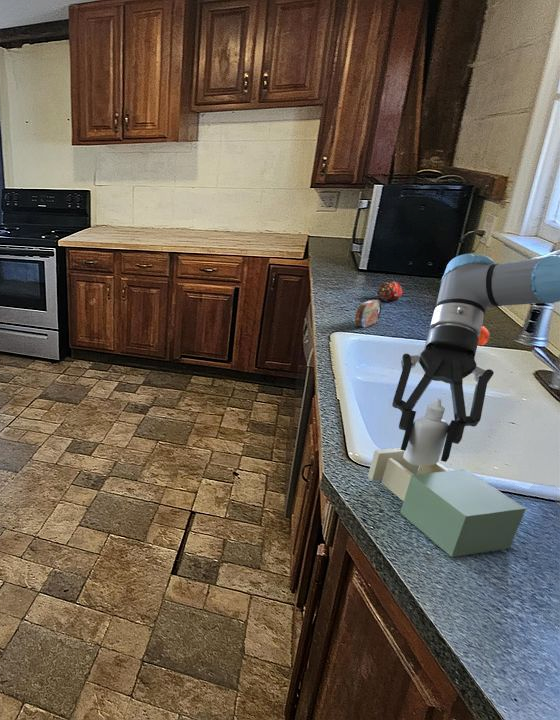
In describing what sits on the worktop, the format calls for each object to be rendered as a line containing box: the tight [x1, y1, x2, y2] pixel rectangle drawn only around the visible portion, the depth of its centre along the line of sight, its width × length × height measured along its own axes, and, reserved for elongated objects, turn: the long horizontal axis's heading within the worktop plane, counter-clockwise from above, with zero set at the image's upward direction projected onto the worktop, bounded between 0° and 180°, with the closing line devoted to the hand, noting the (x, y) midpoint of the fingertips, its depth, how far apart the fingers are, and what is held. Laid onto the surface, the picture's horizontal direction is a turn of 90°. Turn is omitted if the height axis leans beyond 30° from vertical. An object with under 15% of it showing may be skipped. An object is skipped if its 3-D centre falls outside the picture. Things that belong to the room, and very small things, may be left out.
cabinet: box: [399, 468, 527, 558], centre depth 85 cm, size 11×11×8 cm
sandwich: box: [354, 299, 382, 329], centre depth 184 cm, size 15×3×8 cm, turn 129°
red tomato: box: [478, 325, 490, 346], centre depth 166 cm, size 8×7×7 cm
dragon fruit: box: [376, 281, 403, 302], centre depth 214 cm, size 8×8×12 cm
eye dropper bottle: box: [403, 398, 450, 466], centre depth 90 cm, size 4×6×12 cm
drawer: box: [367, 447, 451, 502], centre depth 95 cm, size 11×10×6 cm
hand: (423, 453), depth 88 cm, fingers closed on eye dropper bottle, 5 cm apart
